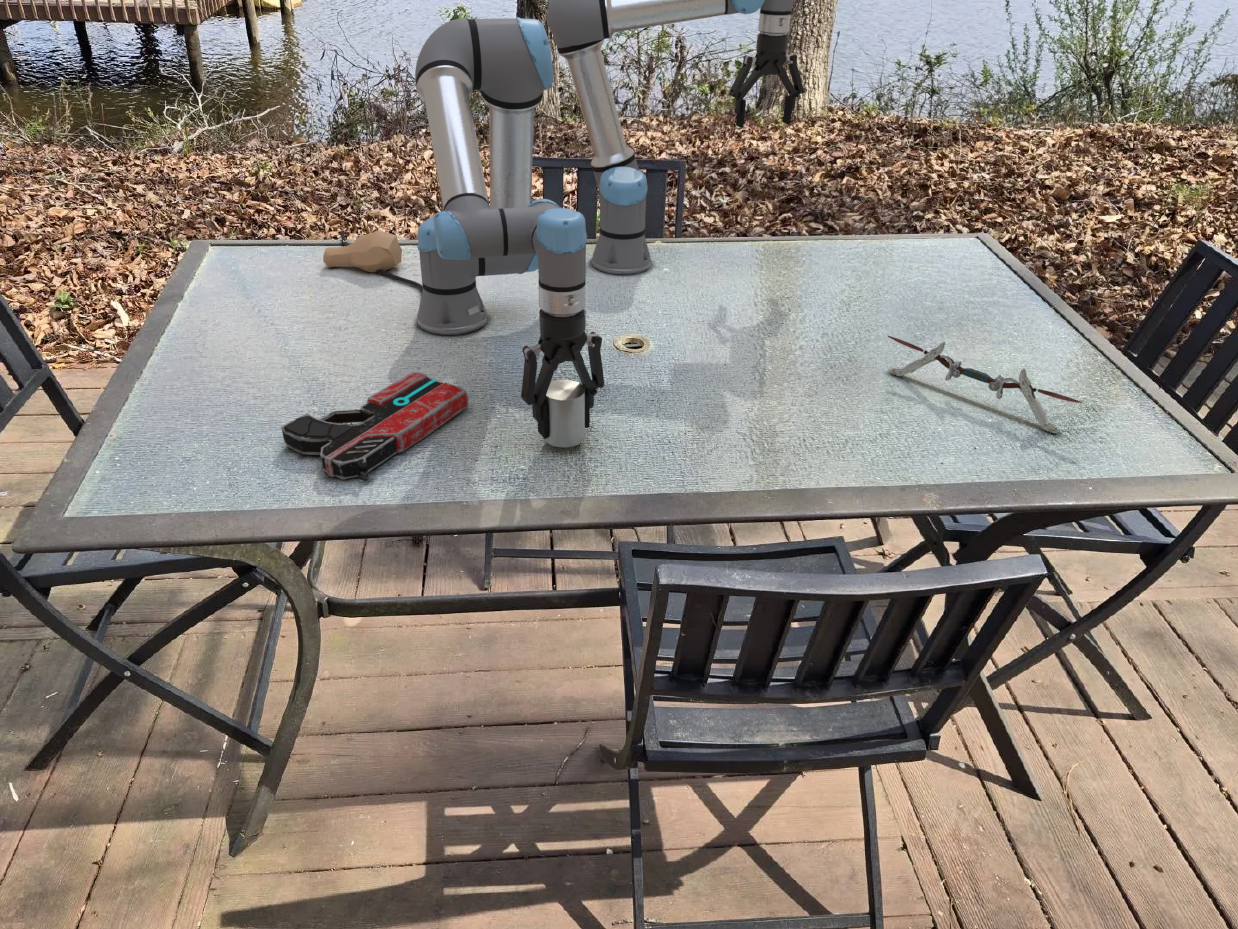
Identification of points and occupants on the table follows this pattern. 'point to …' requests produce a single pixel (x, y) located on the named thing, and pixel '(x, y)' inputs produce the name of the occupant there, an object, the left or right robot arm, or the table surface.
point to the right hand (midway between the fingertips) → (763, 124)
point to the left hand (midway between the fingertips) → (563, 429)
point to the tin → (565, 413)
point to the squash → (367, 252)
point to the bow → (994, 384)
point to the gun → (376, 425)
